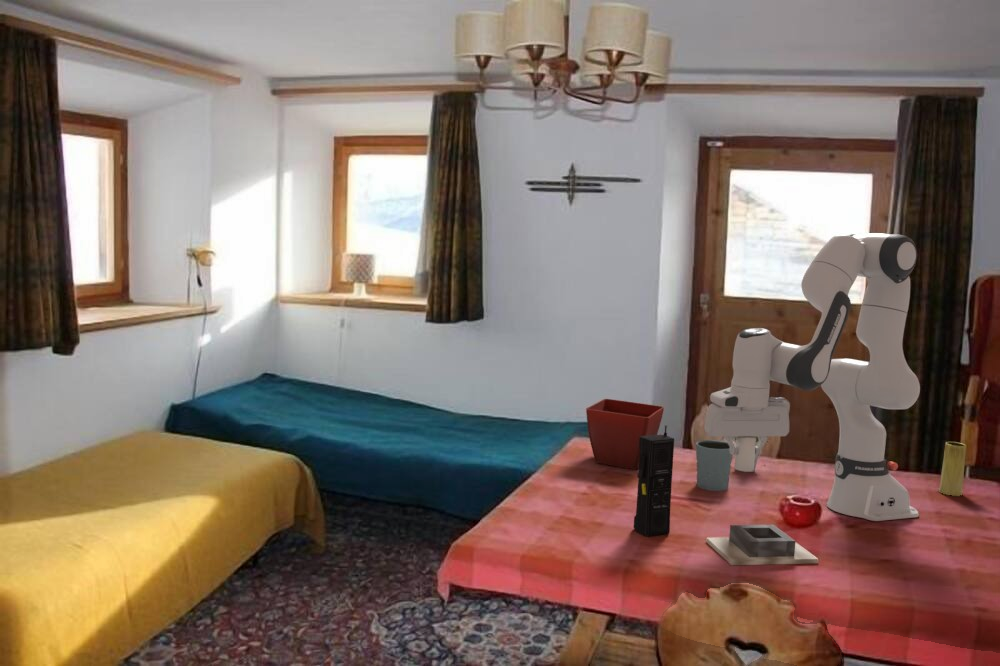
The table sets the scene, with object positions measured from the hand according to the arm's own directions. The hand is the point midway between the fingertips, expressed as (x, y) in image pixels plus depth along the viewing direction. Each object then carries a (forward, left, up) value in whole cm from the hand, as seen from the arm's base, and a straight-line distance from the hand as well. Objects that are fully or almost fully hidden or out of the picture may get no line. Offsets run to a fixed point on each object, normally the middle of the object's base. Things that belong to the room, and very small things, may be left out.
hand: (745, 454), depth 217 cm
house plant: (-25, -48, -18) cm, 57 cm away
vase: (-75, -25, -18) cm, 81 cm away
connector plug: (0, 0, -4) cm, 4 cm away
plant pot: (+11, -58, -18) cm, 62 cm away
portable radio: (+23, +2, -18) cm, 30 cm away
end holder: (+2, +16, -18) cm, 24 cm away
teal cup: (-7, -33, -18) cm, 38 cm away
